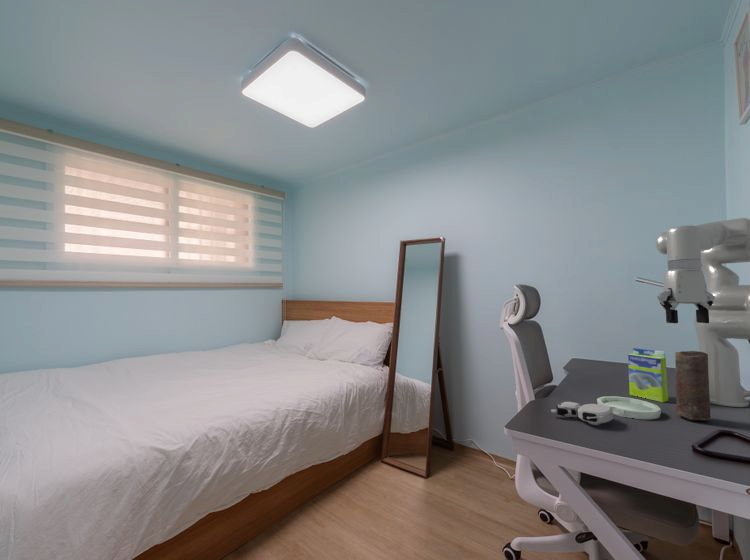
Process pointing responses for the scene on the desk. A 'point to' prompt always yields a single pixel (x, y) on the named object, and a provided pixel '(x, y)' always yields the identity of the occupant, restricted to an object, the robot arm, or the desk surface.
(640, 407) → the dish
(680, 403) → the rusty brown cylinder
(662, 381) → the box
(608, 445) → the desk surface
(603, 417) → the robot toy
